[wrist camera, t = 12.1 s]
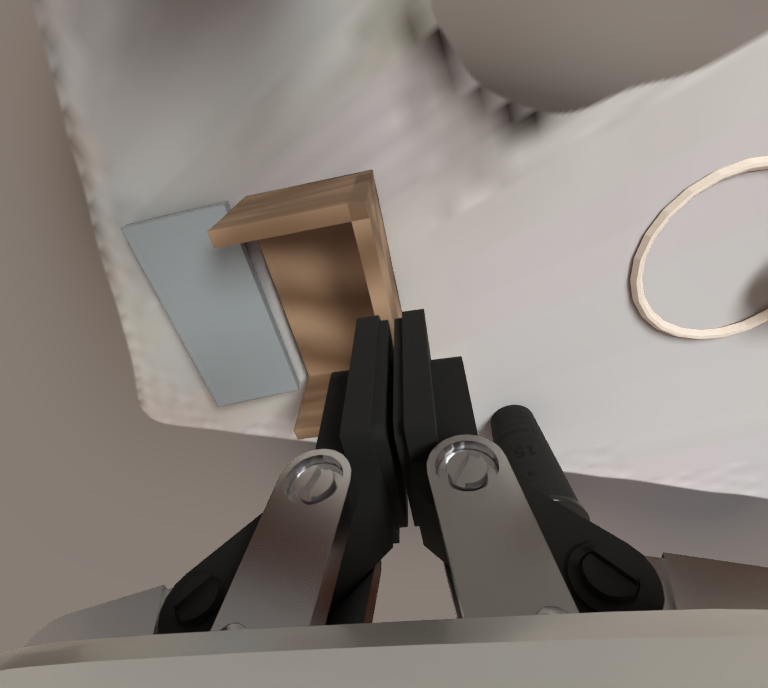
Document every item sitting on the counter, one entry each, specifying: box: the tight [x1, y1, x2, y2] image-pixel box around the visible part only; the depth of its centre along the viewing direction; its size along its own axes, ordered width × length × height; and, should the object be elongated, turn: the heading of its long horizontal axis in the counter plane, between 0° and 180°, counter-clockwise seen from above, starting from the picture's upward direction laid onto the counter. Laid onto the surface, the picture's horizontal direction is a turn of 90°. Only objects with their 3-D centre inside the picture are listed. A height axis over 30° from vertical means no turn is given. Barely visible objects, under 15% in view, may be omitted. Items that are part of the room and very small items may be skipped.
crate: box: [207, 170, 402, 439], centre depth 37 cm, size 20×11×9 cm, turn 12°
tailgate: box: [121, 201, 299, 406], centre depth 42 cm, size 20×1×9 cm
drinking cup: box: [491, 405, 590, 521], centre depth 42 cm, size 8×8×20 cm
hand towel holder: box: [630, 156, 768, 339], centre depth 37 cm, size 17×4×21 cm
